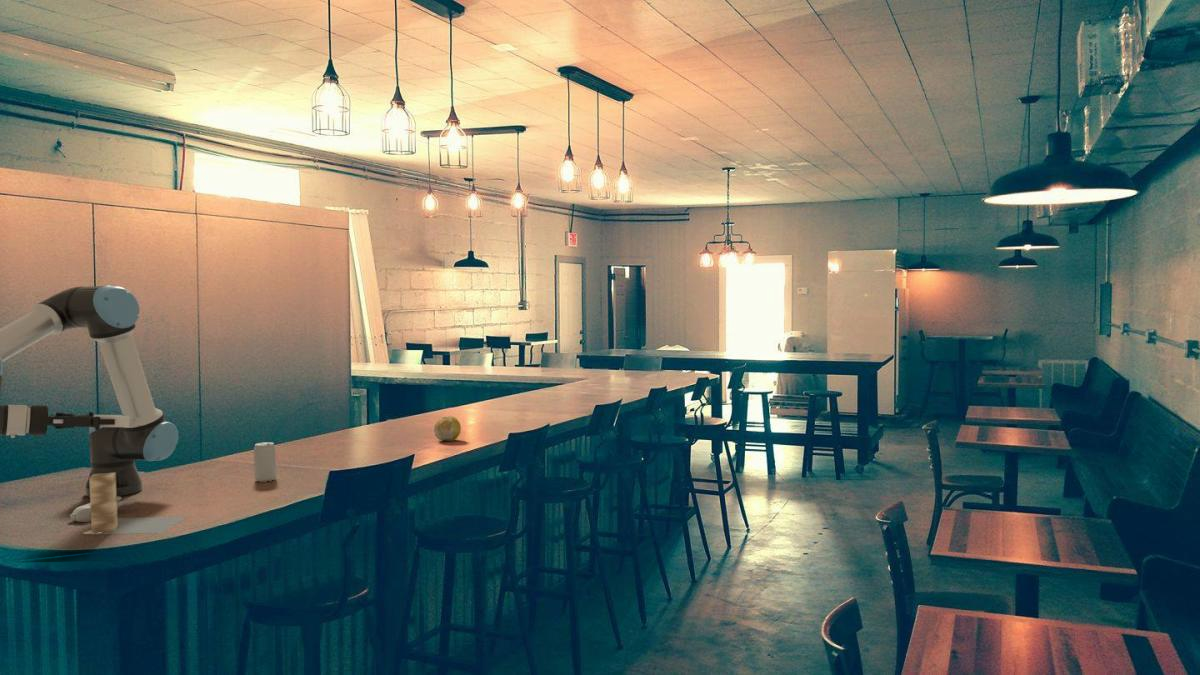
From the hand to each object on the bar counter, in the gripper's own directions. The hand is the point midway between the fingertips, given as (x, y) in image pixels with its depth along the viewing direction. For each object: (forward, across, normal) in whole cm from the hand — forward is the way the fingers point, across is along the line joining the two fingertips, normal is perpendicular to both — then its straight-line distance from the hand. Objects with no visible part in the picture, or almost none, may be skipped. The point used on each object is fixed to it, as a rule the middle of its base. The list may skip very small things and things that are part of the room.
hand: (125, 420), depth 222 cm
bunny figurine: (-2, -12, -27) cm, 30 cm away
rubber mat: (+3, +5, -27) cm, 28 cm away
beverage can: (+45, -30, -20) cm, 57 cm away
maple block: (-4, +4, -28) cm, 28 cm away
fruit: (+122, -56, -10) cm, 135 cm away
